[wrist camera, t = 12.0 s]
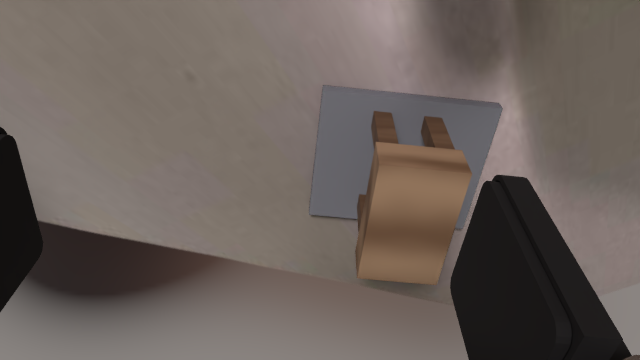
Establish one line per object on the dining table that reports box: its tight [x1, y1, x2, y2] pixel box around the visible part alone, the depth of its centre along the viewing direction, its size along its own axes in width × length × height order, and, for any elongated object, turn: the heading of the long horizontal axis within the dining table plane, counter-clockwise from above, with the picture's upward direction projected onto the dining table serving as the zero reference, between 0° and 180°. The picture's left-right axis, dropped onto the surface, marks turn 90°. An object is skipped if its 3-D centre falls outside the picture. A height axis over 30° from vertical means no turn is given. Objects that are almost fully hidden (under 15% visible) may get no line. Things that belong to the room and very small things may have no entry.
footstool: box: [355, 111, 472, 285], centre depth 38 cm, size 10×6×8 cm, turn 174°
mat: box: [309, 85, 503, 229], centre depth 42 cm, size 14×12×1 cm
